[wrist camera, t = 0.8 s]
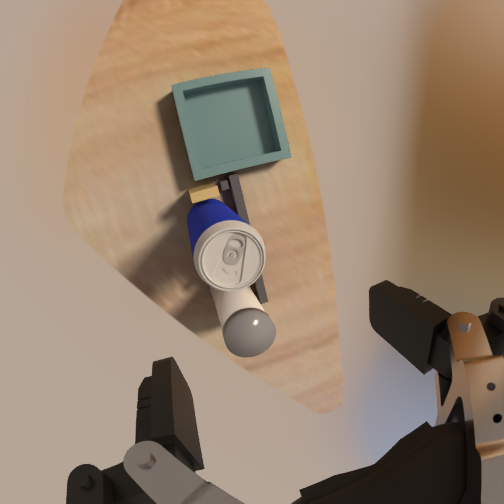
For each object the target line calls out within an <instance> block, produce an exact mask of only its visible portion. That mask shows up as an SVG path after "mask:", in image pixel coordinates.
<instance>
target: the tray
mask: <svg viewBox="0 0 504 504" xmlns="http://www.w3.org/2000/svg"><path fill="white" fill-rule="evenodd" d="M172 93H173V97H174V102H175V106H176V110H177V115H178V119H179V123H180V127H181V131H182V135H183V140H184V144H185V148H186V152H187V156H188V160H189V163H190V167H191V171H192V175H193V179H194V181H197V180H201V179H204V178H208V177H212V176H215V175H219V174H223V173H227V172H231V171H235V170H239V169H243V168H247V167H251V166H255V165H260V164H264V163H268V162H273V161H277V160H282V159H287V158H291V153H290V149H289V144H288V140H287V135H286V131H285V127H284V122H283V118H282V114H281V110H280V106H279V102H278V98H277V94H276V90H275V86H274V82H273V78H272V74H271V71H270V68H262V69H253V70H246V71H239V72H232V73H226V74H220V75H215V76H210V77H205V78H200V79H195V80H191V81H186V82H182V83H178V84H174V85H172Z"/></svg>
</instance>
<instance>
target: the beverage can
mask: <svg viewBox="0 0 504 504" xmlns="http://www.w3.org/2000/svg"><path fill="white" fill-rule="evenodd" d="M187 224H188V231H189V237H190V243H191V249H192V254H193V260H194V266H195V268H196V271H197V273H198V275H199V276H200V277H201V279H202V280H203V281H205V282H206V283H207V284H208V285H210V286H212V287H214V288H216V289H218V290H222V291H228V292H231V291H239V290H242V289H245V288H247V287H249V286H250V285H251V284H253V283H254V282H255V281H256V280H257V279H258V278H259V276H260V275H261V273H262V271H263V269H264V266H265V258H266V257H265V246H264V242H263V240H262V238H261V236H260V235H259V233H258V232H257V231H256V230H255V229H254V228H253V227H252V226H251V225H249V224H248V223H247V222H246V221H244V220H243V219H242V218H241V217H240V216H238V215H237V214H236V213H235V212H234V211H232V210H231V209H230V208H229V207H227V206H226V205H225V204H224V203H222V202H221V201H219V200H216V199H206V200H203V201H199V202H198V203H196V204H195V205H194V206H193V207H192V208H191V210H190V212H189V214H188V218H187Z"/></svg>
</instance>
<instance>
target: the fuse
mask: <svg viewBox="0 0 504 504" xmlns="http://www.w3.org/2000/svg"><path fill="white" fill-rule="evenodd" d="M209 289H210V293H211V295H212V297H213V300H214V304H215V307H216V310H217V314H218V317H219V321H220V324H221V327H222V330H223V337H224V341H225V344H226V346H227V348H228V350H229V351H230V352H231V353H233V354H235V355H237V356H240V357H253V356H257V355H259V354H261V353H263V352H264V351H266V350H267V349H268V348H269V347H270V346H271V345H272V343H273V341H274V339H275V336H276V328H275V325H274V323H273V322H272V320H271V319H270V317H269V316H268V314H267V313H266V312H265V311H264V309H263V308H262V306H261V304H260V303H259V301H258V299H257V298H256V296H255V295H254V293H253V291H252V290H251V288H250V286H249V287H247V288H245V289H242V290H239V291H231V292H228V291H222V290H218V289H216V288H214V287H212V286H210V285H209Z"/></svg>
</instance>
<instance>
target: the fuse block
mask: <svg viewBox="0 0 504 504" xmlns="http://www.w3.org/2000/svg"><path fill="white" fill-rule="evenodd" d="M227 179H228V181H227V180H221V181H218V182H219V186H220V189H221V190H222V191H223V190H226V189H229V187H230V191H231V195H232V199H233V203H234V207H235V211H236V214H237V215H238V216H240V217H241V218H242V219H243V220H244V221H246V222H247V223H248V224H249V225H250V223H249V219H248V215H247V211H246V207H245V202H244V198H243V194H242V190H241V186H240V182H239V177H238V174H236V173H235V174H231V175H227ZM228 183H229V185H228ZM188 191H189V194H190V198H191V201H192V203H196V202H199V201H203V200H206V199H210V198H213V197H217V196H220V194H219V190H218V186H217V185H215V184H213V183H210V184H207V185H203V186H200V187H196V188H193V189H189V190H188ZM254 287H255V290H256V294H257V298H258V300H259V302H260V304H262V303H265V302H268V299H267V295H266V291H265V287H264V282H263V278H262V274H261V275H260V276H259V278H258V279H257V280H256V281H255V282H254Z"/></svg>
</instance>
